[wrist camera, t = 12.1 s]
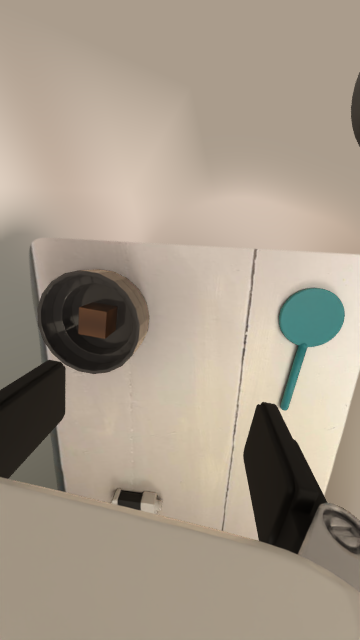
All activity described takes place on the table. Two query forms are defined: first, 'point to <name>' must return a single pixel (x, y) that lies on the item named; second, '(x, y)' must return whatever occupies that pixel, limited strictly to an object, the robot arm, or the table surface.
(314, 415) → the table surface
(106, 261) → the table surface
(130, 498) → the camera
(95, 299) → the shallow round bowl
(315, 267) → the table surface
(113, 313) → the block
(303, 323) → the teal lollipop paddle
